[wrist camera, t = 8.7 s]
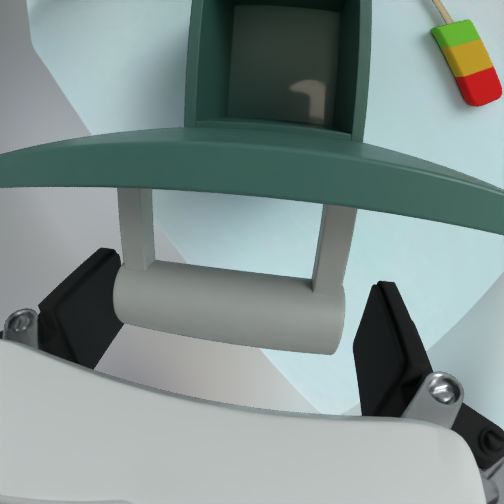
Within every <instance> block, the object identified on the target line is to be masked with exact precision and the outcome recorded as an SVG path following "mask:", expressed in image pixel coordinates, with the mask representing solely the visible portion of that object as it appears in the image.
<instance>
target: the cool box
mask: <svg viewBox="0 0 504 504" xmlns="http://www.w3.org/2000/svg"><path fill="white" fill-rule="evenodd" d="M371 26H372V0H192V6H191V16H190V27H189V39H188V52H187V68H186V87H185V114H184V127H202V128H234V129H252V130H266V131H278V132H288V133H298V134H306V135H315V136H322V137H330V138H336V139H343V140H349V141H355V142H361V143H363V136H364V128H365V119H366V109H367V98H368V86H369V73H370V55H371Z"/></svg>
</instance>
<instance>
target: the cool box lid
mask: <svg viewBox="0 0 504 504" xmlns="http://www.w3.org/2000/svg"><path fill="white" fill-rule="evenodd" d="M12 187H114V188H116V187H117V192H118V208H119V221H120V232H121V242H122V251H123V260H124V263H123V264H122V265H121V267H120V269H119V271H118V273H117V276H116V279H115V283H114V289H113V305H114V310H115V313H116V316H117V317H118V319H119V320H120V321H121V322H123V323H126V324H130V325H135V326H138V327H143V328H147V329H152V330H157V331H162V332H167V333H172V334H177V335H182V336H187V337H193V338H199V339H205V340H211V341H216V342H223V343H229V344H236V345H244V346H251V347H258V348H265V349H274V350H282V351H292V352H302V353H313V354H325V355H332V354H334V353H335V351H336V350H337V348H338V345H339V343H340V339H341V336H342V331H343V326H344V318H345V292H344V288H343V285H342V283H343V279H344V274H345V270H346V265H347V261H348V256H349V251H350V246H351V241H352V236H353V230H354V225H355V219H356V214H357V209H364V210H371V211H377V212H384V213H390V214H396V215H402V216H408V217H414V218H420V219H426V220H431V221H437V222H442V223H447V224H452V225H457V226H462V227H467V228H472V229H477V230H482V231H486V232H491V233H495V234H500V235H504V190H503V189H501V188H498V187H496V186H494V185H491V184H489V183H486V182H484V181H482V180H479V179H477V178H474V177H471V176H469V175H466V174H464V173H461V172H458V171H455V170H453V169H450V168H447V167H444V166H441V165H438V164H435V163H432V162H429V161H426V160H423V159H420V158H417V157H413V156H410V155H407V154H403V153H400V152H396V151H393V150H389V149H385V148H382V147H378V146H374V145H370V144H366V143H361V142H355V141H349V140H343V139H336V138H330V137H322V136H315V135H306V134H298V133H288V132H278V131H266V130H252V129H234V128H202V127H179V128H162V129H148V130H137V131H127V132H117V133H109V134H101V135H94V136H87V137H81V138H74V139H69V140H63V141H57V142H52V143H47V144H42V145H37V146H33V147H28V148H24V149H20V150H15V151H12V152H7V153H4V154H0V188H12ZM152 189H163V190H180V191H196V192H210V193H223V194H235V195H246V196H257V197H267V198H276V199H286V200H295V201H303V202H312V203H320V204H323V210H322V217H321V224H320V231H319V237H318V244H317V250H316V256H315V262H314V268H313V274H312V279H307V278H298V277H289V276H280V275H272V274H263V273H255V272H246V271H238V270H230V269H222V268H214V267H206V266H198V265H190V264H182V263H175V262H167V261H160V260H155V249H154V232H153V210H152Z"/></svg>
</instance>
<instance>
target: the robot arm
mask: <svg viewBox="0 0 504 504" xmlns="http://www.w3.org/2000/svg"><path fill="white" fill-rule="evenodd" d="M120 267H121V261H120V256H119V254H117V253H116V251H115V250H114V249H109V248H100V249H98V250H97V251H96V252H95V253H94V254H93V255H91V256H90V257H89V258H88V259H87V260H86V261H85V262H83V263H82V264H81V265H80V266H79V267H78V268H77V269H76V270H75V271H73V272H72V273H71V274H70V275H69V276H68V277H67V278H66V279H65V280H64V281H63V282H62V283H60V284H59V285H58V286H57V287H56V288H55V289H54V290H53V291H52V292H51V293H50V294H49V295H48V296H47V297H46V298H45V299H44V300H43V301H42V302H41V303H40V304H39V305H38V307H39V309H40V313H39V315H37V313H36V312H35V311H34V310H32V309H21V310H18V311H16V312H14V313H12V314H11V315H10V316H9V317H8V318H7V320H6V321H5V324H4V330H3V331H1V332H0V504H504V431H503V430H502V429H501V428H500V427H499V426H497V425H496V424H494V423H493V422H491V421H490V420H488V419H487V418H485V417H484V416H482V415H481V414H479V413H477V412H476V411H475V410H473V409H472V408H470V407H469V406H467V405H466V404H464V403H463V398H464V390H463V387H462V385H461V383H460V382H459V381H458V380H457V379H456V378H455V377H454V376H452V375H450V374H448V373H446V372H433V370H432V367H431V364H430V362H429V359H428V356H427V354H426V351H425V349H424V346H423V343H422V341H421V339H420V336H419V334H418V331H417V329H416V326H415V324H414V322H413V321H412V320H411V318H410V315H409V313H408V311H407V308H406V306H405V304H404V302H403V299H402V297H401V295H400V293H399V291H398V288H397V286H396V284H395V283H394V282H387V281H379V282H378V283H377V285H376V284H374V285H373V286H372V288H371V291H370V294H369V297H368V300H367V304H366V307H365V310H364V313H363V316H362V319H361V322H360V325H359V328H358V330H357V333H356V336H355V339H354V342H353V354H354V360H355V367H356V374H357V381H358V388H359V396H360V404H361V412H362V416H346V415H326V414H311V413H299V412H288V411H278V410H268V409H261V408H254V407H247V406H239V405H234V404H228V403H221V402H216V401H211V400H205V399H200V398H196V397H191V396H186V395H182V394H177V393H173V392H169V391H165V390H161V389H157V388H153V387H149V386H145V385H142V384H138V383H134V382H130V381H127V380H124V379H121V378H117V377H114V376H111V375H108V374H105V373H102V372H99V371H96V370H94V368H95V367H96V365H97V364H98V362H99V360H100V359H101V357H102V356H103V354H104V353H105V351H106V350H107V348H108V347H109V345H110V344H111V342H112V341H113V339H114V338H115V337H116V335H117V333H118V332H119V331H120V329H121V328H122V326H123V325H124V323H123V322H121V321H120V320H119V319H118V317H117V316H116V313H115V310H114V305H113V289H114V283H115V279H116V276H117V273H118V271H119V269H120Z"/></svg>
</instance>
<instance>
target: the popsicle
mask: <svg viewBox="0 0 504 504" xmlns="http://www.w3.org/2000/svg"><path fill="white" fill-rule="evenodd" d="M432 1H433V3H434V5H435V6H436V8H437V9H438V11H439V12H440V14H441V16H442V17H443V19H444V21H445V22H446V24H447V25H443V26H439V27H436V28H433V29H431V31H432V33H433V35H434V37H435V39H436V40H437V42H438V44H439V46H440V48H441V50H442V52H443V54H444V55H445V57H446V59H447V61H448V64H449V66H450V68H451V70H452V72H453V74H454V76H455V78H456V81H457V83H458V85H459V88H460V90H461V92H462V95H463V97H464V99H465V101H466V102H467V103H468V104H469V105H471V106H483V105H485V104H487V103H490V102H492V101H495V100H497V99H499V98H500V97H501V95H502V87H501V84H500V81H499V79H498V76H497V74H496V71H495V69H494V66H493V64H492V62H491V60H490V57H489V55H488V53H487V51H486V49H485V47H484V44H483V42H482V40H481V38H480V36H479V35H478V33H477V31H476V29H475V27H474V25H473V23H472V22H471V20H463V21H459V22H455V23H454V22H453V20H452V18H451V17H450V15H449V13H448V12H447V10H446V9H445V7H444V5H443V4H442V2H441V1H440V0H432Z"/></svg>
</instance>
